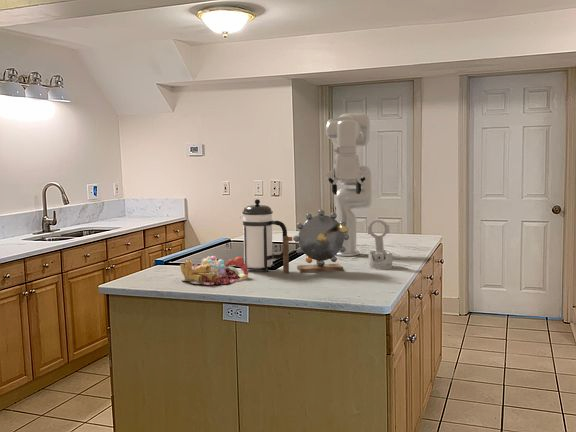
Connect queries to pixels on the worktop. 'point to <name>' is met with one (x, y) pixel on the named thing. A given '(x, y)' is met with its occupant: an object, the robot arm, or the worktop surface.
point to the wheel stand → (305, 267)
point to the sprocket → (321, 237)
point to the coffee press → (259, 236)
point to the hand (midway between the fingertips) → (346, 194)
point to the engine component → (379, 249)
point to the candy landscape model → (214, 271)
